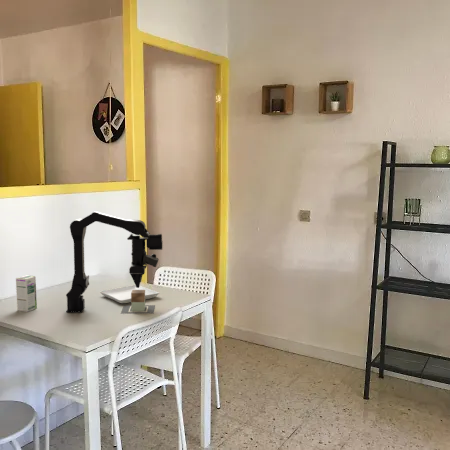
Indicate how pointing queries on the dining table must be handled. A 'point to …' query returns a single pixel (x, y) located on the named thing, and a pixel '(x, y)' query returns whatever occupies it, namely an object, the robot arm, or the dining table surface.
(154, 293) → the salad plate
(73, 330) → the dining table surface
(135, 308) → the sage block
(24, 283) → the syrup box
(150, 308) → the mat
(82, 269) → the robot arm
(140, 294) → the walnut block
